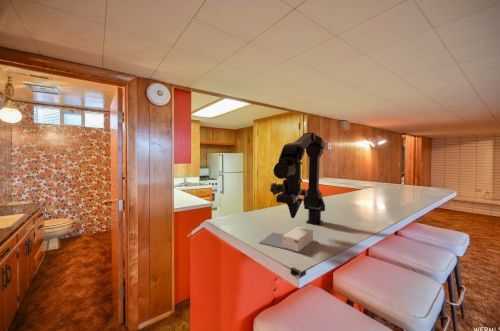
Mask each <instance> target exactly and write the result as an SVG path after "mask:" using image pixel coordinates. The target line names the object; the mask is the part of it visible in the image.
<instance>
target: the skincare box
mask: <svg viewBox="0 0 500 331" xmlns="http://www.w3.org/2000/svg"><path fill="white" fill-rule="evenodd" d="M283 234H284V233H283ZM313 240H314V230H313V229H312V228H307V227H302V226H297V227H295V228H293V229H292V230H290V231H289V232H286V233H285V234H284V235H283V247H285V248H288V249H291V250H295V251H300V250H301V249H302V248H304V247H305V246H306V245H308V244H309V243H310V242H311V241H313Z"/></svg>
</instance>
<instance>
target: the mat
mask: <svg viewBox="0 0 500 331" xmlns="http://www.w3.org/2000/svg"><path fill="white" fill-rule="evenodd" d="M283 235H284V233H283V234H282V233H278V232H272V233H270V234H268V236H267V235H266V237H265V238H263V239H261V241H258V244H260V245H265V246H270V247H273V248H278V249H282V250H285V251H286V250H287V251H290V252H294V253H300V254H304V255H308V256H310V255H311V253H312V252H313V250H314V249H315V247H316V246H317V244H318V243H319V241H318V240H314V239H313V241H311V242H310V243H309V244H308V245H306V246H305V247H304V248H302V249H301V250H300V251H295V250H291V249H288V248H285V247H283Z"/></svg>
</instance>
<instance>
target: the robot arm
mask: <svg viewBox="0 0 500 331" xmlns="http://www.w3.org/2000/svg"><path fill="white" fill-rule="evenodd" d="M325 146H326V144H325V141H324V139H323V137H322V136H321V137H320V136H319V135H317V134H316V133H315V132H304V133H303V134H302V135H301V136H300V137H299V138H298V139H296V140H294V142H293V141H292V142H290V143H289V142H288V143H286V144H284V145H283V147H282V150H281V152H280V154H279V158H278V162H277V163H276V164H275V165H274V166H273V170H272V171H273V175H274V177H276V178H277V179H279V180H282V183H280V184H277V183H272V184H270V190H269V192H271V193H272V195H273V196H275V195H276V197H275V201H276V203H278V204H279V203H281V204H285V205H287V207H288V212H289V215H290V218H291V219H294V218H296V216H297V213H298V211H299V209H300V207H301V204H302V203H303V207H304V209H303V210H308V214H307V216H308V218H307V220H306V221H305V222H306V223H307V224H312V225H318V226H319V225H322V223H323V222H324V220H323V219H321V218H322V212H326V204H325V201H324V198H323V194H322V192H321V190H320V188H319V187H320V186H319V185H320V159H321V157H322V155H323V154H324V150H325ZM305 152H306V155H307V156H308V159H309V160H308V162H309V163H308V189H305V188H302V183H303V179H302V165H303V162H302V160H303V158H304V155H305ZM300 196H304V197H303V198H300Z"/></svg>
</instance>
